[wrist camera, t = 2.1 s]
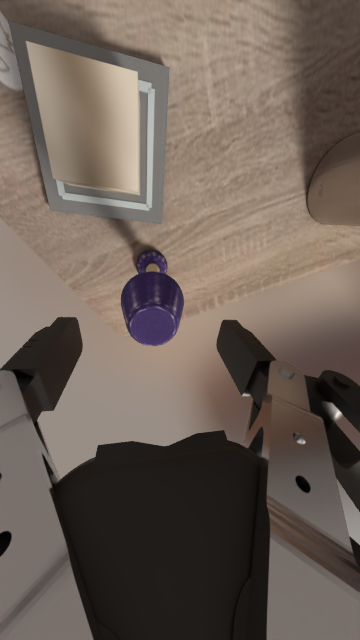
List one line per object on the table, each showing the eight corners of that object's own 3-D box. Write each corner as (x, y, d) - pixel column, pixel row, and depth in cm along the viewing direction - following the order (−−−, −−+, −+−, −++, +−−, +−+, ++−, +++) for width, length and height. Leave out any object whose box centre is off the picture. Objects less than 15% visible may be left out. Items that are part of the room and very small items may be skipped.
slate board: (168, 75, 16) (169, 66, 15) (161, 223, 22) (161, 224, 21) (17, 32, 14) (7, 19, 13) (54, 210, 20) (49, 210, 19)
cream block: (139, 102, 16) (137, 71, 12) (140, 195, 19) (138, 191, 16) (54, 81, 15) (25, 40, 11) (71, 185, 18) (53, 178, 15)
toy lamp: (126, 263, 24) (93, 333, 10) (149, 237, 22) (151, 272, 8) (153, 286, 26) (158, 371, 12) (175, 263, 25) (211, 327, 11)
